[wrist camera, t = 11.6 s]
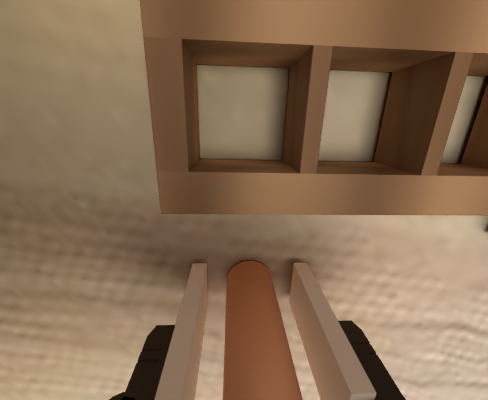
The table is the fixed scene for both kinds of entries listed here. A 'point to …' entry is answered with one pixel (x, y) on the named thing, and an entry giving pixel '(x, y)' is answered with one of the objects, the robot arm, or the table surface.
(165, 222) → the table surface
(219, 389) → the table surface
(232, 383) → the pin
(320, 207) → the wooden compartment rack
